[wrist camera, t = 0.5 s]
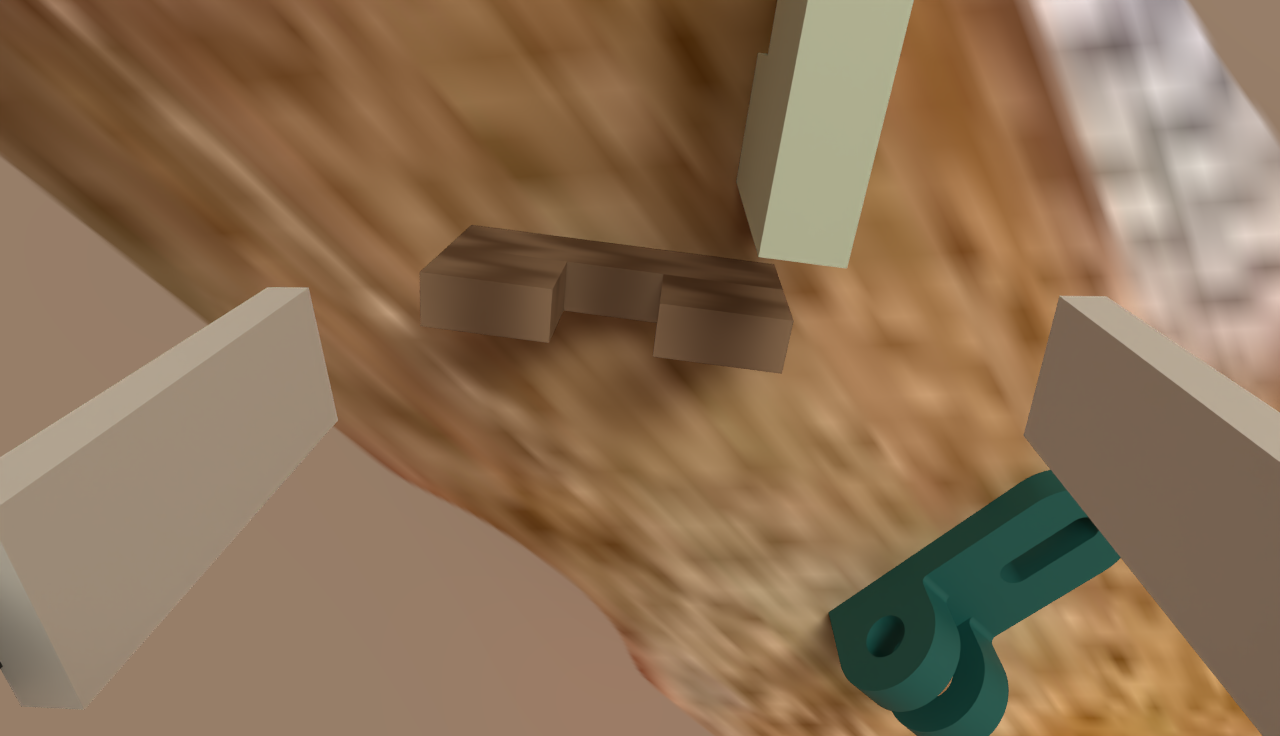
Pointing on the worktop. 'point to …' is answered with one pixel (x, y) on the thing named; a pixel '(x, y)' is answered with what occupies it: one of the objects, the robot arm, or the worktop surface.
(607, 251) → the walnut slotted plate
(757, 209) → the sage slotted plate
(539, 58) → the worktop surface
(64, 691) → the robot arm
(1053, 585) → the bracket
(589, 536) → the worktop surface
